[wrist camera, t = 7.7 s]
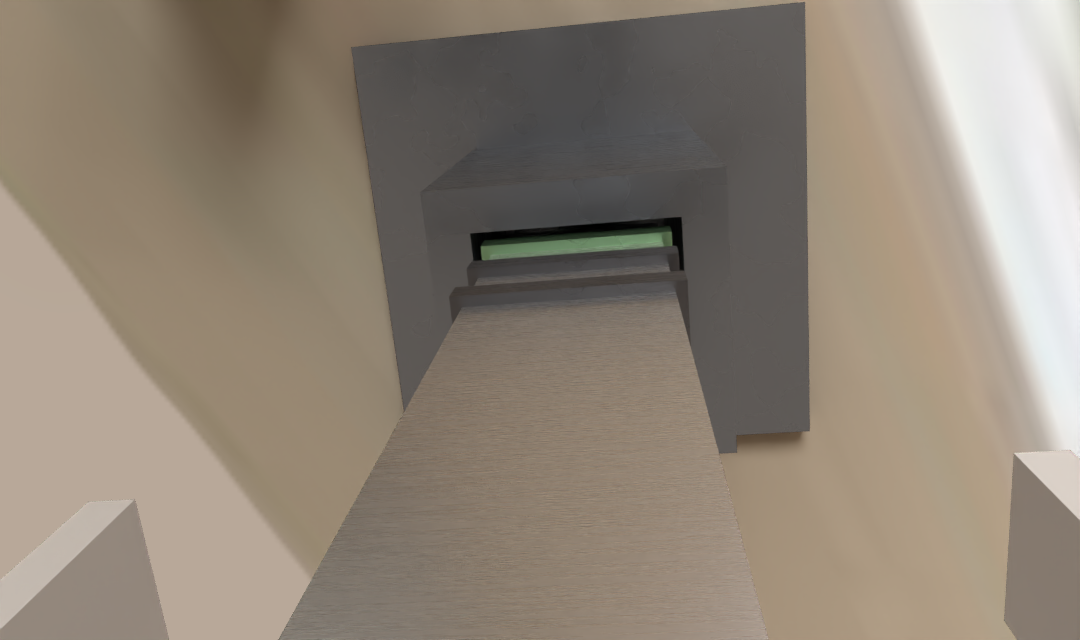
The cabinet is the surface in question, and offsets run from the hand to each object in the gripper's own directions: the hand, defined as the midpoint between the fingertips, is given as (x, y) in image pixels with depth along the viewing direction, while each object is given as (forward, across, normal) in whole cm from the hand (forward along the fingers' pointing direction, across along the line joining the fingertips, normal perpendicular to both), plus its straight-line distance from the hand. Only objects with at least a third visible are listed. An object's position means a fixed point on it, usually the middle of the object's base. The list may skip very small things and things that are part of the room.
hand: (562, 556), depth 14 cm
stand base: (+23, 0, 0) cm, 23 cm away
